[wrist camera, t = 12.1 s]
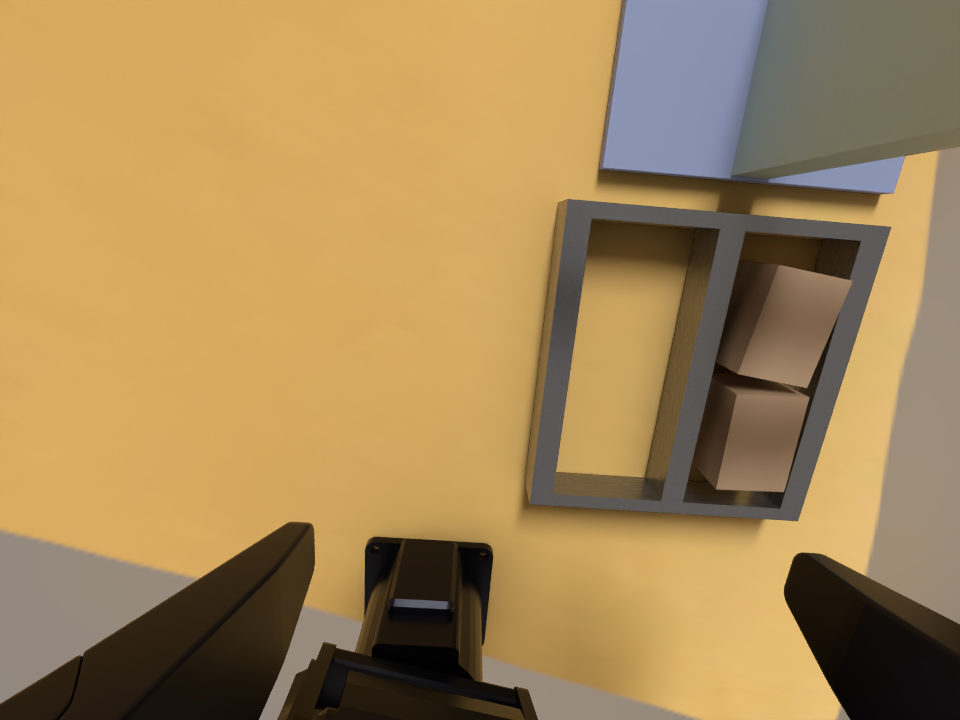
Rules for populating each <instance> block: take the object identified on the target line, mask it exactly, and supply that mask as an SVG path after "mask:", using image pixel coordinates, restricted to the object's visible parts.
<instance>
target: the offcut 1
mask: <svg viewBox="0 0 960 720" xmlns="http://www.w3.org/2000/svg"><path fill="white" fill-rule="evenodd" d="M852 282H853V281H851V280H846V279H842V278H837V277H833V276H828V275H824V274H819V273H814V272H810V271H805V270H801V269H796V268H792V267H787V266H783V265H777V264H768V263H759V262H751V261H742V260H739V262H738V266H737V271H736V275H735V279H734V284H733V288H732V292H731V296H730V301H729V305H728V309H727V314H726V318H725V322H724V327H723V331H722V335H721V339H720V344H719V348H718V352H717V357H716V361H715V362H716V363H718V364H720V365H722V366H724V367H726V368H727V369H729V370H731V371H733V372H735V373H737V374H740V375H745V376H750V377H755V378H760V379H765V380H770V381H775V382H780V383H785V384H790V385H795V386H800V387H805V388H807V387H808V385H809V382H810V380H811V378H812V375H813V373H814V371H815V368H816V366H817V364H818V361H819V359H820V357H821V354H822V352H823V350H824V347H825V345H826V343H827V340H828V338H829V336H830V333H831V331H832V329H833V326H834V324H835V321H836V319H837V317H838V314H839V312H840V310H841V307H842V305H843V303H844V300H845V298H846V296H847V293H848V291H849V289H850V286H851V284H852Z"/></svg>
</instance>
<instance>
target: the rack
mask: <svg viewBox="0 0 960 720" xmlns="http://www.w3.org/2000/svg"><path fill="white" fill-rule="evenodd" d="M591 220H596V221H608V222H620V223H631V224H643V225H655V226H667V227H679V228H691V229H696V231H695V236H694V241H693V246H692V251H691V256H690V260H689V265H688V270H687V275H686V280H685V285H684V290H683V295H682V300H681V305H680V310H679V315H678V320H677V324H676V329H675V334H674V339H673V344H672V349H671V354H670V359H669V364H668V369H667V374H666V379H665V383H664V388H663V393H662V398H661V403H660V408H659V413H658V418H657V423H656V428H655V433H654V438H653V443H652V447H651V452H650V457H649V462H648V467H647V472H646V477H645V478H638V477H623V476H608V475H593V474H577V473H562V472H556V468H557V461H558V454H559V447H560V440H561V432H562V425H563V418H564V411H565V404H566V397H567V390H568V383H569V376H570V369H571V362H572V355H573V348H574V340H575V333H576V326H577V319H578V312H579V305H580V298H581V291H582V284H583V277H584V270H585V263H586V256H587V248H588V241H589V234H590V227H591ZM890 230H891V227H886V226H875V225H863V224H851V223H840V222H828V221H816V220H805V219H793V218H781V217H770V216H758V215H747V214H735V213H723V212H712V211H700V210H688V209H677V208H665V207H653V206H642V205H630V204H618V203H607V202H595V201H584V200H572V199H567V200H564V201H561V202H558V210H557V219H556V227H555V235H554V243H553V252H552V260H551V268H550V276H549V285H548V293H547V301H546V310H545V318H544V326H543V334H542V343H541V351H540V359H539V368H538V376H537V384H536V392H535V401H534V409H533V417H532V425H531V434H530V442H529V450H528V459H527V467H526V475H525V484H526V489H527V494H528V499H529V504H535V505H550V506H566V507H582V508H598V509H613V510H629V511H645V512H661V513H677V514H692V515H708V516H724V517H740V518H756V519H771V520H787V521H798V519H799V516H800V513H801V510H802V507H803V504H804V501H805V497H806V494H807V491H808V488H809V485H810V482H811V479H812V475H813V472H814V469H815V466H816V463H817V460H818V456H819V453H820V450H821V447H822V444H823V441H824V438H825V434H826V431H827V428H828V425H829V422H830V419H831V416H832V412H833V409H834V406H835V403H836V400H837V397H838V393H839V390H840V387H841V384H842V381H843V378H844V375H845V371H846V368H847V365H848V362H849V359H850V356H851V352H852V349H853V346H854V343H855V340H856V337H857V334H858V330H859V327H860V324H861V321H862V318H863V315H864V312H865V308H866V305H867V302H868V299H869V296H870V293H871V289H872V286H873V283H874V280H875V277H876V274H877V271H878V267H879V264H880V261H881V258H882V255H883V252H884V249H885V245H886V242H887V239H888V236H889V233H890ZM745 233H750V234H762V235H773V236H785V237H797V238H809V239H821V240H823V243H822V246H821V250H820V253H819V257H818V261H817V264H816V268H815V271H814V273H819V274H824V275H828V276H833V277H837V278H842V279H846V280H851V281H853V282H852V284H851V286H850V289H849V291H848V293H847V296H846V298H845V300H844V303H843V305H842V307H841V310H840V312H839V314H838V317H837V319H836V321H835V324H834V326H833V329H832V331H831V333H830V336H829V338H828V340H827V343H826V345H825V347H824V350H823V352H822V354H821V357H820V359H819V361H818V364H817V366H816V368H815V371H814V373H813V375H812V378H811V380H810V382H809V385H808V387H807V388H805V387H800V386H795V385H790V384H785V383H783V384H784V385H786V386H788V387H790V388H792V389H794V390H796V391H798V392H800V393H802V394H804V395H806V396H808V397H809V401H808V405H807V408H806V412H805V416H804V420H803V423H802V427H801V431H800V435H799V438H798V442H797V446H796V449H795V453H794V457H793V461H792V464H791V468H790V472H789V476H788V479H787V483H786V487H785V491H784V492H771V491H745V490H719V489H715V488H714V487H713V486H712V484H711V483H710V482H699V481H688V477H689V473H690V468H691V464H692V460H693V455H694V451H695V447H696V443H697V438H698V434H699V430H700V425H701V421H702V417H703V412H704V408H705V404H706V400H707V395H708V391H709V387H710V382H711V378H712V374H713V370H714V365H715V361H716V357H717V352H718V348H719V344H720V339H721V335H722V331H723V327H724V322H725V318H726V314H727V309H728V305H729V301H730V296H731V292H732V288H733V284H734V279H735V275H736V271H737V266H738V262H739V258H740V253H741V249H742V245H743V241H744V236H745Z"/></svg>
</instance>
